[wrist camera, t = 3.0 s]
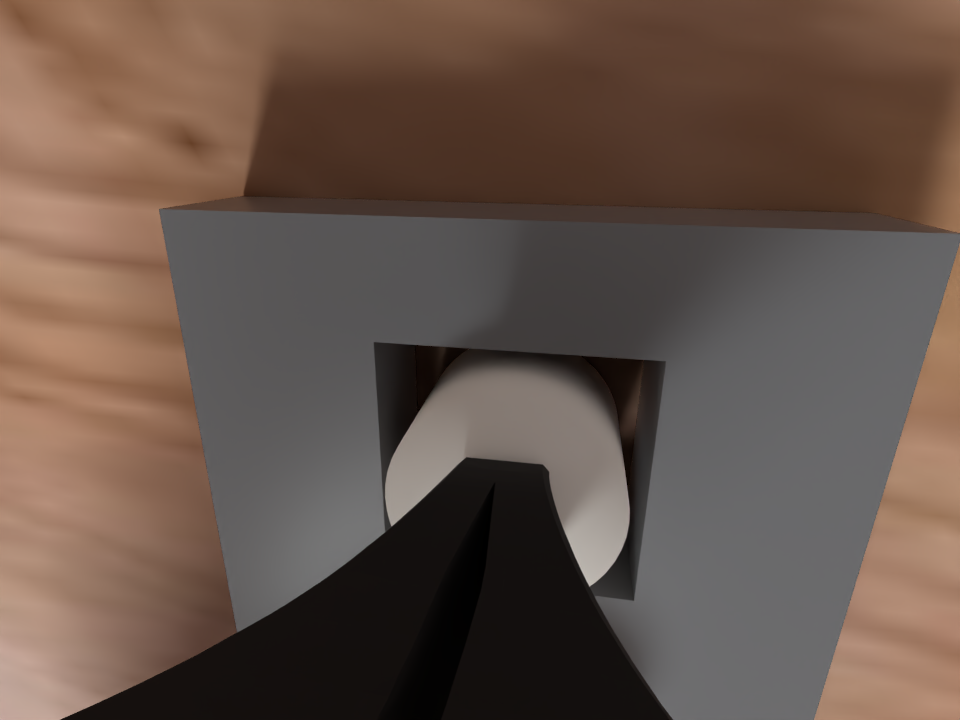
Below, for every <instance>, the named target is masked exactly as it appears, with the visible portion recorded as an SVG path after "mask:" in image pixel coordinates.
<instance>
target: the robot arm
mask: <svg viewBox="0 0 960 720" xmlns="http://www.w3.org/2000/svg"><path fill="white" fill-rule="evenodd" d="M61 720H673V719H672V717H671V716H670V715H669V713H668V712H667V711H666V710H665V708H664V707H663V706H662V704H661V703H660V701H659V700H658V698H657V697H656V696H655V694H654V693H653V691H652V690H651V688H650V687H649V685H648V684H647V682H646V681H645V679H644V678H643V676H642V675H641V673H640V672H639V670H638V669H637V667H636V666H635V664H634V663H633V661H632V660H631V658H630V656H629V655H628V653H627V652H626V650H625V648H624V647H623V645H622V644H621V642H620V640H619V639H618V637H617V635H616V634H615V632H614V631H613V629H612V627H611V625H610V624H609V622H608V620H607V618H606V617H605V615H604V613H603V611H602V609H601V608H600V606H599V604H598V602H597V600H596V598H595V596H594V595H593V593H592V591H591V589H590V587H589V585H588V583H587V581H586V579H585V577H584V575H583V573H582V571H581V568H580V566H579V564H578V562H577V560H576V558H575V555H574V553H573V551H572V548H571V546H570V543H569V541H568V539H567V536H566V534H565V531H564V529H563V526H562V524H561V521H560V518H559V515H558V512H557V509H556V506H555V502H554V499H553V495H552V491H551V486H550V479H549V471H548V470H547V469H546V467H545V466H544V465H543V464H533V463H522V462H512V461H501V460H491V459H480V458H470V457H466V458H465V459H464V460H462V461H461V462H460V463H459V464H458V465H457V466H456V467H455V468H454V469H453V470H452V471H451V472H450V473H449V474H448V475H447V476H446V477H445V478H444V479H443V480H442V481H440V482H439V483H438V484H437V485H436V486H435V487H434V488H433V489H432V490H431V491H430V492H429V493H428V494H427V495H426V496H425V497H424V498H423V499H422V500H421V501H420V502H418V503H417V504H416V505H415V506H414V507H413V508H412V509H411V510H410V511H408V512H407V513H406V514H405V515H404V516H403V517H402V518H401V519H400V520H398V521H397V522H396V523H395V524H394V525H393V526H392V527H391V528H389V529H388V530H387V531H386V532H385V533H383V534H382V535H381V536H380V537H378V538H377V539H376V540H375V541H373V542H372V543H371V544H370V545H368V546H367V547H366V548H365V549H363V550H362V551H361V552H360V553H358V554H357V555H356V556H355V557H353V558H352V559H351V560H350V561H348V562H347V563H346V564H344V565H343V566H342V567H340V568H339V569H338V570H336V571H335V572H334V573H332V574H331V575H329V576H328V577H327V578H325V579H324V580H322V581H321V582H320V583H318V584H316V585H315V586H313V587H312V588H310V589H309V590H307V591H306V592H304V593H303V594H301V595H300V596H298V597H297V598H295V599H294V600H292V601H290V602H289V603H287V604H286V605H284V606H283V607H281V608H279V609H278V610H276V611H274V612H273V613H271V614H269V615H268V616H266V617H264V618H262V619H260V620H259V621H257V622H255V623H253V624H252V625H250V626H248V627H246V628H244V629H243V630H241V631H239V632H237V633H236V634H234V635H232V636H230V637H228V638H227V639H225V640H223V641H221V642H220V643H218V644H216V645H214V646H212V647H211V648H209V649H207V650H205V651H204V652H202V653H200V654H198V655H196V656H194V657H192V658H190V659H188V660H186V661H185V662H183V663H180V664H178V665H176V666H174V667H172V668H170V669H168V670H166V671H164V672H162V673H160V674H158V675H156V676H154V677H152V678H150V679H148V680H146V681H144V682H142V683H140V684H138V685H136V686H134V687H131V688H129V689H127V690H125V691H123V692H121V693H118V694H116V695H114V696H112V697H110V698H108V699H105V700H103V701H101V702H99V703H97V704H95V705H92V706H90V707H88V708H86V709H84V710H81V711H79V712H77V713H74V714H72V715H70V716H68V717H65V718H63V719H61Z"/></svg>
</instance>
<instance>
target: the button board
mask: <svg viewBox="0 0 960 720" xmlns="http://www.w3.org/2000/svg"><path fill="white" fill-rule="evenodd" d="M159 212H160V217H161V222H162V228H163V233H164V239H165V244H166V250H167V255H168V260H169V266H170V271H171V277H172V282H173V288H174V293H175V298H176V304H177V309H178V315H179V320H180V326H181V331H182V336H183V342H184V347H185V353H186V358H187V363H188V369H189V374H190V380H191V385H192V391H193V396H194V401H195V407H196V412H197V418H198V423H199V429H200V434H201V439H202V445H203V450H204V456H205V461H206V467H207V472H208V477H209V483H210V488H211V494H212V499H213V504H214V510H215V515H216V521H217V526H218V532H219V537H220V542H221V548H222V553H223V559H224V564H225V570H226V575H227V580H228V586H229V591H230V597H231V602H232V608H233V613H234V618H235V624H236V629H237V632H239V631H241V630H243V629H244V628H246V627H248V626H250V625H252V624H253V623H255V622H257V621H259V620H260V619H262V618H264V617H266V616H268V615H269V614H271V613H273V612H274V611H276V610H278V609H279V608H281V607H283V606H284V605H286V604H287V603H289V602H290V601H292V600H294V599H295V598H297V597H298V596H300V595H301V594H303V593H304V592H306V591H307V590H309V589H310V588H312V587H313V586H315V585H316V584H318V583H320V582H321V581H322V580H324V579H325V578H327V577H328V576H329V575H331V574H332V573H334V572H335V571H336V570H338V569H339V568H340V567H342V566H343V565H344V564H346V563H347V562H348V561H350V560H351V559H352V558H353V557H355V556H356V555H357V554H358V553H360V552H361V551H362V550H363V549H365V548H366V547H367V546H368V545H370V544H371V543H372V542H373V541H375V540H376V539H377V538H378V537H380V536H381V535H382V534H383V533H385V532H386V531H387V530H388V529H389V528H391V527H392V526H391V524H390V520H389V517H388V513H387V508H386V501H385V483H386V477H387V471H388V468H389V465H390V462H391V459H392V457H393V455H394V453H395V451H396V449H397V447H398V446H399V444H400V442H401V441H402V439H403V437H404V436H405V434H406V432H407V431H408V429H409V427H410V426H411V424H412V422H413V421H414V419H415V417H416V416H417V393H416V362H415V345H425V346H441V347H456V348H471V349H487V350H502V351H517V352H532V353H548V354H563V355H578V356H594V357H609V358H624V359H639V360H644V363H643V371H642V379H641V388H640V396H639V404H638V413H637V421H636V430H635V438H634V446H633V455H632V463H631V471H630V480H629V488H628V498H629V506H630V518H629V527H628V532H627V537H626V540H625V542H624V545H623V548H622V550H621V552H620V554H619V555H618V557H617V559H616V561H615V562H614V563H613V565H612V566H611V567H610V568H609V570H608V571H607V572H606V573H605V574H604V575H603V576H602V577H601V578H600V579H599V580H598V581H597V582H595V583H594V584H592V585H591V586H590V589H591V591H592V593H593V595H594V596H595V598H596V600H597V602H598V604H599V606H600V608H601V609H602V611H603V613H604V615H605V617H606V618H607V620H608V622H609V624H610V625H611V627H612V629H613V631H614V632H615V634H616V635H617V637H618V639H619V640H620V642H621V644H622V645H623V647H624V648H625V650H626V652H627V653H628V655H629V656H630V658H631V660H632V661H633V663H634V664H635V666H636V667H637V669H638V670H639V672H640V673H641V675H642V676H643V678H644V679H645V681H646V682H647V684H648V685H649V687H650V688H651V690H652V691H653V693H654V694H655V696H656V697H657V698H658V700H659V701H660V703H661V704H662V706H663V707H664V708H665V710H666V711H667V712H668V713H669V715H670V716H671V717H672V719H673V720H814V717H815V714H816V711H817V708H818V704H819V701H820V698H821V695H822V691H823V688H824V685H825V681H826V678H827V675H828V672H829V668H830V665H831V662H832V659H833V655H834V652H835V649H836V646H837V642H838V639H839V636H840V632H841V629H842V626H843V623H844V619H845V616H846V613H847V610H848V606H849V603H850V600H851V596H852V593H853V590H854V587H855V583H856V580H857V577H858V574H859V570H860V567H861V564H862V561H863V557H864V554H865V551H866V547H867V544H868V541H869V538H870V534H871V531H872V528H873V525H874V521H875V518H876V515H877V511H878V508H879V505H880V502H881V498H882V495H883V492H884V489H885V485H886V482H887V479H888V475H889V472H890V469H891V466H892V462H893V459H894V456H895V453H896V449H897V446H898V443H899V440H900V436H901V433H902V430H903V426H904V423H905V420H906V417H907V413H908V410H909V407H910V404H911V400H912V397H913V394H914V390H915V387H916V384H917V381H918V377H919V374H920V371H921V368H922V364H923V361H924V358H925V355H926V351H927V348H928V345H929V341H930V338H931V335H932V332H933V328H934V325H935V322H936V319H937V315H938V312H939V309H940V305H941V302H942V299H943V296H944V292H945V289H946V286H947V283H948V279H949V276H950V273H951V269H952V266H953V263H954V260H955V256H956V253H957V250H958V247H959V243H960V233H957V232H953V231H948V230H944V229H940V228H936V227H931V226H927V225H923V224H919V223H914V222H910V221H906V220H902V219H898V218H893V217H889V216H885V215H881V214H876V213H853V212H815V211H777V210H740V209H702V208H664V207H626V206H589V205H551V204H513V203H476V202H438V201H400V200H363V199H325V198H287V197H249V196H240V197H234V198H227V199H221V200H214V201H208V202H201V203H195V204H188V205H182V206H175V207H169V208H163V209H159Z"/></svg>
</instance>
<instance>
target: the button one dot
mask: <svg viewBox="0 0 960 720" xmlns="http://www.w3.org/2000/svg"><path fill="white" fill-rule="evenodd" d="M466 457H470V458H480V459H491V460H501V461H512V462H522V463H533V464H543V465H544V466H545V467H546V469H547V470H548V471H549V479H550V486H551V491H552V495H553V499H554V502H555V506H556V509H557V512H558V515H559V518H560V521H561V524H562V526H563V529H564V531H565V534H566V536H567V539H568V541H569V543H570V546H571V548H572V551H573V553H574V555H575V558H576V560H577V562H578V564H579V566H580V568H581V571H582V573H583V575H584V577H585V579H586V581H587V583H588V585H589V587H590V586H591V585H592V584H594V583H595V582H597V581H598V580H599V579H600V578H601V577H602V576H603V575H604V574H605V573H606V572H607V571H608V570H609V568H610V567H611V566H612V565H613V563H614V562H615V561H616V559H617V557H618V555H619V554H620V552H621V550H622V548H623V545H624V542H625V540H626V537H627V532H628V527H629V518H630V506H629V498H628V490H627V482H626V475H625V467H624V460H623V452H622V445H621V437H620V430H619V422H618V415H617V409H616V405H615V402H614V399H613V396H612V394H611V392H610V390H609V388H608V386H607V384H606V383H605V381H604V379H603V378H602V377H601V376H600V374H599V373H598V372H597V371H596V369H595V368H594V367H593V366H592V365H591V364H589V363H588V362H587V361H586V360H585V359H584V358H582V357H581V356H578V355H563V354H548V353H532V352H517V351H502V350H487V349H471V348H470V349H468V350H467V351H465V352H463V353H462V354H461V355H460V356H458V357H457V358H456V359H455V360H454V361H453V362H452V363H451V364H450V365H449V366H448V367H447V368H446V369H445V371H444V372H443V374H442V375H441V376H440V378H439V380H438V381H437V383H436V385H435V386H434V388H433V389H432V391H431V393H430V394H429V396H428V398H427V399H426V401H425V403H424V404H423V406H422V408H421V409H420V411H419V413H418V414H417V416H416V417H415V419H414V421H413V422H412V424H411V426H410V427H409V429H408V431H407V432H406V434H405V436H404V437H403V439H402V441H401V442H400V444H399V446H398V447H397V449H396V451H395V453H394V455H393V457H392V459H391V462H390V465H389V468H388V471H387V477H386V483H385V501H386V508H387V513H388V517H389V520H390V524H391V526H393V525H394V524H395V523H396V522H397V521H398V520H400V519H401V518H402V517H403V516H404V515H405V514H406V513H407V512H408V511H410V510H411V509H412V508H413V507H414V506H415V505H416V504H417V503H418V502H420V501H421V500H422V499H423V498H424V497H425V496H426V495H427V494H428V493H429V492H430V491H431V490H432V489H433V488H434V487H435V486H436V485H437V484H438V483H439V482H440V481H442V480H443V479H444V478H445V477H446V476H447V475H448V474H449V473H450V472H451V471H452V470H453V469H454V468H455V467H456V466H457V465H458V464H459V463H460V462H461V461H462V460H464V459H465V458H466Z"/></svg>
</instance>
